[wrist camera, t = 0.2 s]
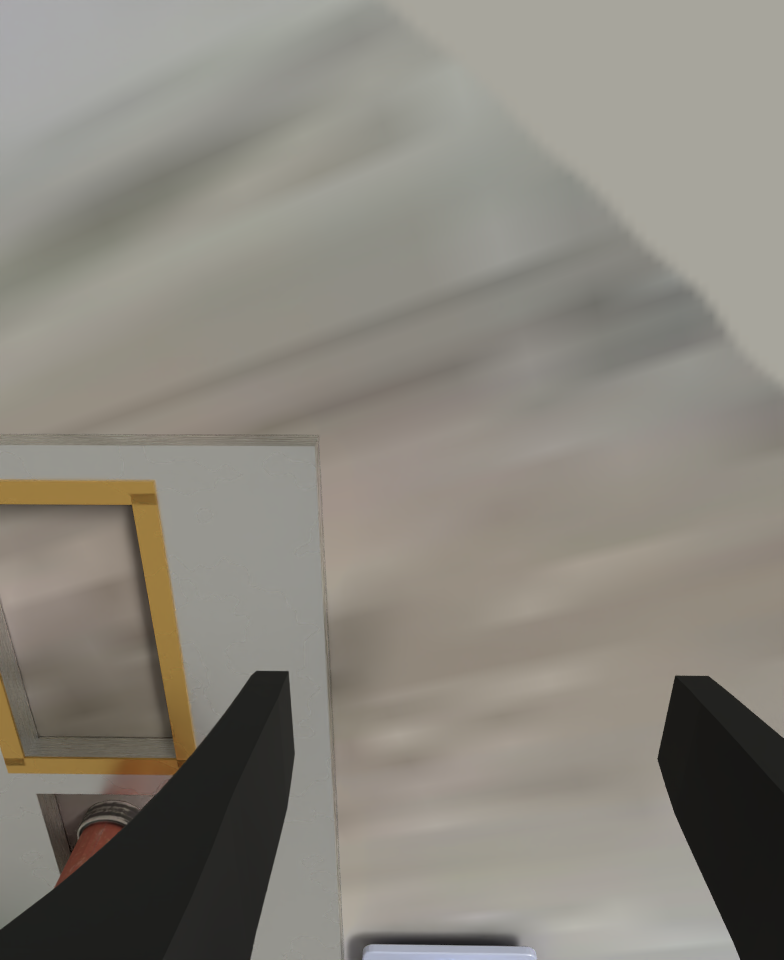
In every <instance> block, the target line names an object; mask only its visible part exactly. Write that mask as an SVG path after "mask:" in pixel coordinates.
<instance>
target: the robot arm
mask: <svg viewBox="0 0 784 960" xmlns="http://www.w3.org/2000/svg"><path fill="white" fill-rule="evenodd" d="M294 757H295V749H294V735H293V722H292V708H291V695H290V681H289V671H256V672H254V673H253V674H252V675H251V676H250V678H249V679H248V681H247V682H246V684H245V685H244V686H243V688H242V689H241V691H240V692H239V694H238V695H237V696H236V698H235V699H234V701H233V702H232V703H231V705H230V706H229V707H228V709H227V710H226V711H225V713H224V714H223V715H222V717H221V718H220V719H219V721H218V722H217V723H216V725H215V726H214V727H213V728H212V730H211V731H210V732H209V733H208V735H207V736H206V737H205V738H204V740H203V741H202V742H201V743H200V745H199V746H198V747H197V748H196V750H195V751H194V752H193V753H192V755H191V756H190V757H189V758H188V759H187V760H186V762H185V763H184V764H183V765H182V766H181V767H180V768H179V769H178V771H177V772H176V773H175V774H174V775H173V776H172V777H171V778H170V780H169V781H168V782H167V783H166V784H165V785H164V786H163V787H162V788H161V790H160V791H159V792H158V793H157V794H156V795H155V796H154V797H153V798H152V799H151V800H150V801H149V802H148V803H147V804H146V805H145V806H144V808H143V809H142V810H141V811H140V812H139V813H138V814H137V815H136V816H135V817H134V818H133V819H132V820H131V821H129V822H128V823H127V824H126V825H125V826H124V827H123V828H122V829H121V830H120V831H119V832H118V833H117V834H116V835H115V836H114V837H113V838H112V839H111V840H110V841H108V842H107V843H106V844H105V845H104V846H103V847H102V848H101V849H99V850H98V851H97V852H96V853H95V854H94V855H93V856H92V857H90V858H89V859H88V860H87V861H86V862H85V863H84V864H82V865H81V866H80V867H79V868H78V869H77V870H76V871H74V872H73V873H72V874H71V875H70V876H69V877H67V878H66V879H65V880H64V881H63V882H61V883H60V884H59V885H58V886H56V887H55V888H54V889H53V890H51V891H50V892H49V893H48V894H46V895H45V896H44V897H42V898H41V899H40V900H38V901H37V902H36V903H34V904H33V905H32V906H31V907H29V908H28V909H27V910H25V911H24V912H23V913H21V914H20V915H19V916H17V917H16V918H15V919H13V920H12V921H11V922H10V923H8V924H7V925H6V926H4V927H3V928H2V929H0V960H250V959H251V955H252V950H253V945H254V940H255V936H256V931H257V928H258V924H259V920H260V916H261V912H262V908H263V904H264V900H265V896H266V892H267V888H268V884H269V880H270V876H271V872H272V868H273V864H274V860H275V856H276V852H277V848H278V844H279V840H280V836H281V832H282V828H283V824H284V820H285V816H286V812H287V807H288V801H289V794H290V787H291V780H292V772H293V764H294ZM658 762H659V766H660V769H661V772H662V776H663V779H664V782H665V786H666V789H667V792H668V795H669V798H670V801H671V804H672V807H673V810H674V813H675V815H676V818H677V820H678V822H679V825H680V827H681V829H682V831H683V834H684V836H685V838H686V840H687V842H688V845H689V847H690V849H691V851H692V853H693V856H694V858H695V860H696V862H697V864H698V867H699V869H700V871H701V873H702V875H703V877H704V880H705V882H706V884H707V886H708V888H709V890H710V893H711V895H712V897H713V899H714V901H715V904H716V906H717V908H718V910H719V912H720V914H721V917H722V919H723V921H724V923H725V925H726V927H727V930H728V932H729V934H730V936H731V938H732V941H733V943H734V945H735V948H736V950H737V952H738V955H739V957H740V960H784V738H783V737H781V736H780V735H779V734H778V733H777V732H775V731H774V730H773V729H772V728H771V727H769V726H768V725H767V724H766V723H765V722H763V721H762V720H761V719H760V718H759V717H758V716H756V715H755V714H754V713H753V712H752V711H750V710H749V709H748V708H747V707H746V706H744V705H743V704H742V703H741V702H740V701H739V700H737V699H736V698H735V697H734V696H733V695H731V694H730V693H729V692H728V691H727V690H725V689H724V688H723V687H722V686H720V685H719V684H718V683H717V682H715V681H714V680H713V679H712V678H710V677H709V676H675V679H674V684H673V689H672V693H671V698H670V703H669V707H668V712H667V717H666V722H665V726H664V731H663V736H662V740H661V745H660V750H659V754H658ZM362 960H537V957H536V952H535V950H534V949H533V948H531V947H527V946H470V945H403V944H370V945H367V946H366V947H365V948H364V949H363V956H362Z"/></svg>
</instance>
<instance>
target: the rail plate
mask: <svg viewBox="0 0 784 960" xmlns="http://www.w3.org/2000/svg"><path fill="white" fill-rule="evenodd" d="M0 504H72V505H132V508H133V513H134V519H135V525H136V530H137V536H138V542H139V548H140V553H141V559H142V565H143V570H144V576H145V582H146V588H147V593H148V599H149V605H150V610H151V616H152V622H153V628H154V633H155V639H156V645H157V650H158V656H159V662H160V668H161V673H162V679H163V685H164V690H165V696H166V702H167V707H168V713H169V719H170V725H171V730H172V736H173V738H77V737H38V735H37V731H36V728H35V724H34V721H33V717H32V714H31V710H30V706H29V703H28V699H27V696H26V692H25V689H24V685H23V682H22V678H21V674H20V671H19V667H18V664H17V660H16V657H15V653H14V650H13V646H12V642H11V639H10V635H9V632H8V628H7V625H6V621H5V618H4V614H3V610H2V607H1V603H0V929H2V928H3V927H4V926H6V925H7V924H8V923H10V922H11V921H12V920H13V919H15V918H16V917H17V916H19V915H20V914H21V913H23V912H24V911H25V910H27V909H28V908H29V907H31V906H32V905H33V904H34V903H36V902H37V901H38V900H40V899H41V898H42V897H44V896H45V895H46V894H48V893H49V892H50V891H51V890H53V889H54V887H55V885H56V883H57V881H58V879H59V877H60V875H61V873H62V871H63V869H64V867H65V865H66V863H67V861H68V859H69V857H70V855H71V852H70V849H69V845H68V842H67V838H66V834H65V831H64V827H63V824H62V820H61V817H60V813H59V810H58V806H57V802H56V799H55V795H54V794H117V795H156V794H157V793H158V792H159V791H160V790H161V788H162V787H163V786H164V785H165V784H166V783H167V782H168V781H169V780H170V778H171V777H172V776H173V775H174V774H175V773H176V772H177V771H178V769H179V768H180V767H181V766H182V765H183V764H184V763H185V762H186V760H187V759H188V758H189V757H190V756H191V755H192V753H193V752H194V751H195V750H196V748H197V747H198V746H199V745H200V743H201V742H202V741H203V740H204V738H205V737H206V736H207V735H208V733H209V732H210V731H211V730H212V728H213V727H214V726H215V725H216V723H217V722H218V721H219V719H220V718H221V717H222V715H223V714H224V713H225V711H226V710H227V709H228V707H229V706H230V705H231V703H232V702H233V701H234V699H235V698H236V696H237V695H238V694H239V692H240V691H241V689H242V688H243V686H244V685H245V684H246V682H247V681H248V679H249V678H250V676H251V675H252V674H253V673H254V672H256V671H289V681H290V695H291V708H292V722H293V735H294V749H295V757H294V764H293V772H292V780H291V787H290V794H289V801H288V807H287V812H286V816H285V820H284V824H283V828H282V832H281V836H280V840H279V844H278V848H277V852H276V856H275V860H274V864H273V868H272V872H271V876H270V880H269V884H268V888H267V892H266V896H265V900H264V904H263V908H262V912H261V916H260V920H259V924H258V928H257V931H256V936H255V940H254V945H253V950H252V955H251V959H250V960H344V948H343V928H342V907H341V887H340V866H339V846H338V825H337V804H336V784H335V763H334V743H333V722H332V702H331V681H330V660H329V640H328V619H327V599H326V578H325V558H324V537H323V516H322V496H321V475H320V455H319V436H303V435H15V434H0Z"/></svg>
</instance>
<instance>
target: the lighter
mask: <svg viewBox="0 0 784 960" xmlns="http://www.w3.org/2000/svg"><path fill="white" fill-rule="evenodd" d="M140 811H141V810H139V809H138V808H137V807H136V806H134V805H131V804H129V803H127V802H122V801H104V802H100V803H97V804H95V805H94V806H92V807H91V808H90V809H89V810H88V812H87V814H86V816H85V817H84V819H83V821H82V823H81V825H80V827H79V829H78V831H77V839H78V841H77V843H76V845H75V847H74V849H73V851H72V853H71V855H70V857H69V859H68V861H67V863H66V865H65V867H64V869H63V871H62V873H61V875H60V877H59V879H58V881H57V883H56V885H55V887H56V886H58V885H59V884H60V883H61V882H63V881H64V880H65V879H66V878H67V877H69V876H70V875H71V874H72V873H73V872H74V871H76V870H77V869H78V868H79V867H80V866H81V865H82V864H84V863H85V862H86V861H87V860H88V859H89V858H90V857H92V856H93V855H94V854H95V853H96V852H97V851H98V850H99V849H101V848H102V847H103V846H104V845H105V844H106V843H107V842H108V841H110V840H111V839H112V838H113V837H114V836H115V835H116V834H117V833H118V832H119V831H120V830H121V829H122V828H123V827H124V826H125V825H126V824H127V823H128V822H129V821H131V820H132V819H133V818H134V817H135V816H136V815H137V814H138V813H139V812H140ZM55 887H54V888H55Z"/></svg>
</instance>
